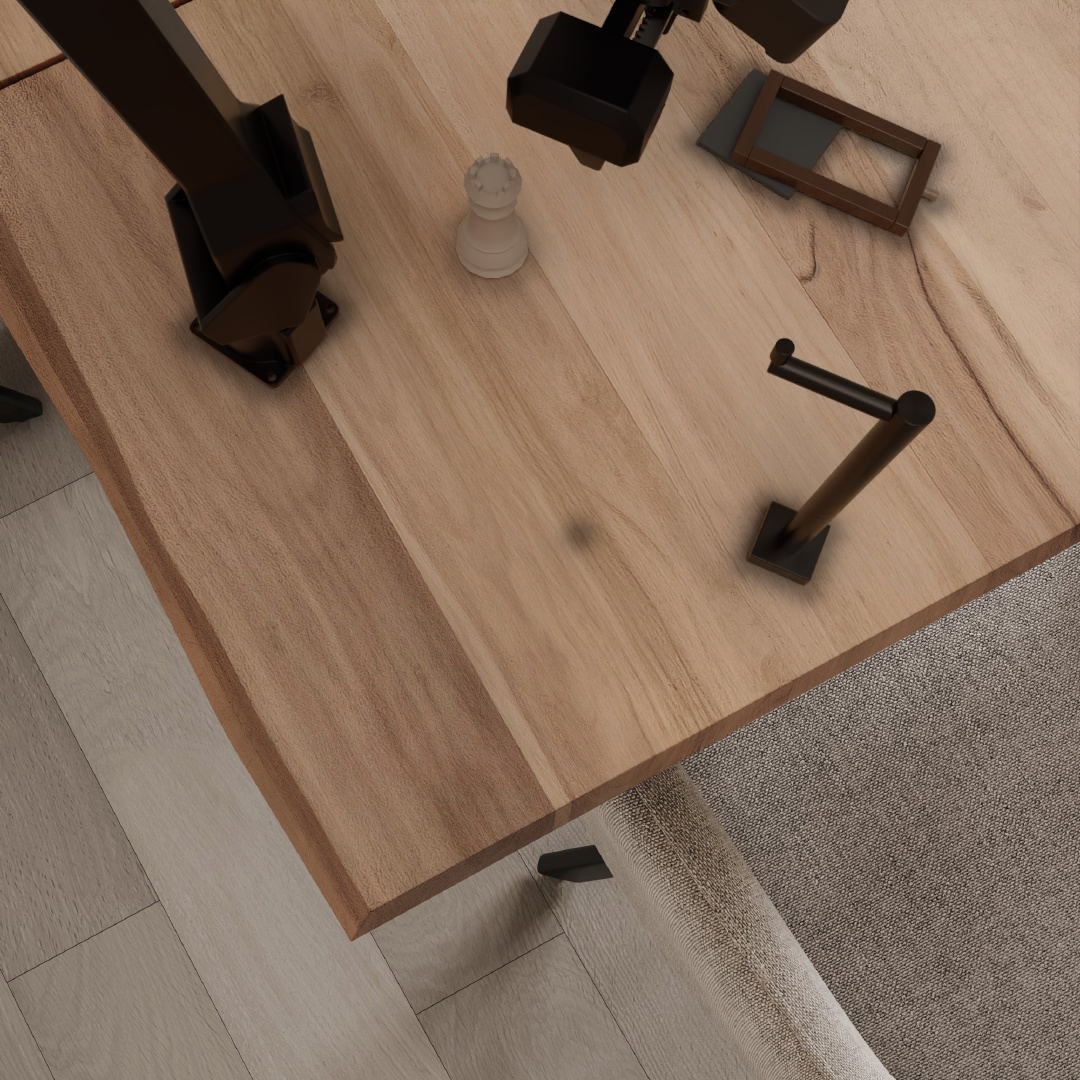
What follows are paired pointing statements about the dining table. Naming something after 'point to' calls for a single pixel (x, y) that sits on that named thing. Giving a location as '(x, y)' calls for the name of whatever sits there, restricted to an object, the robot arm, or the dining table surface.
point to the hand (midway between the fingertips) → (625, 96)
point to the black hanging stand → (800, 535)
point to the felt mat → (770, 132)
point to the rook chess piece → (492, 219)
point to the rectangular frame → (824, 186)
